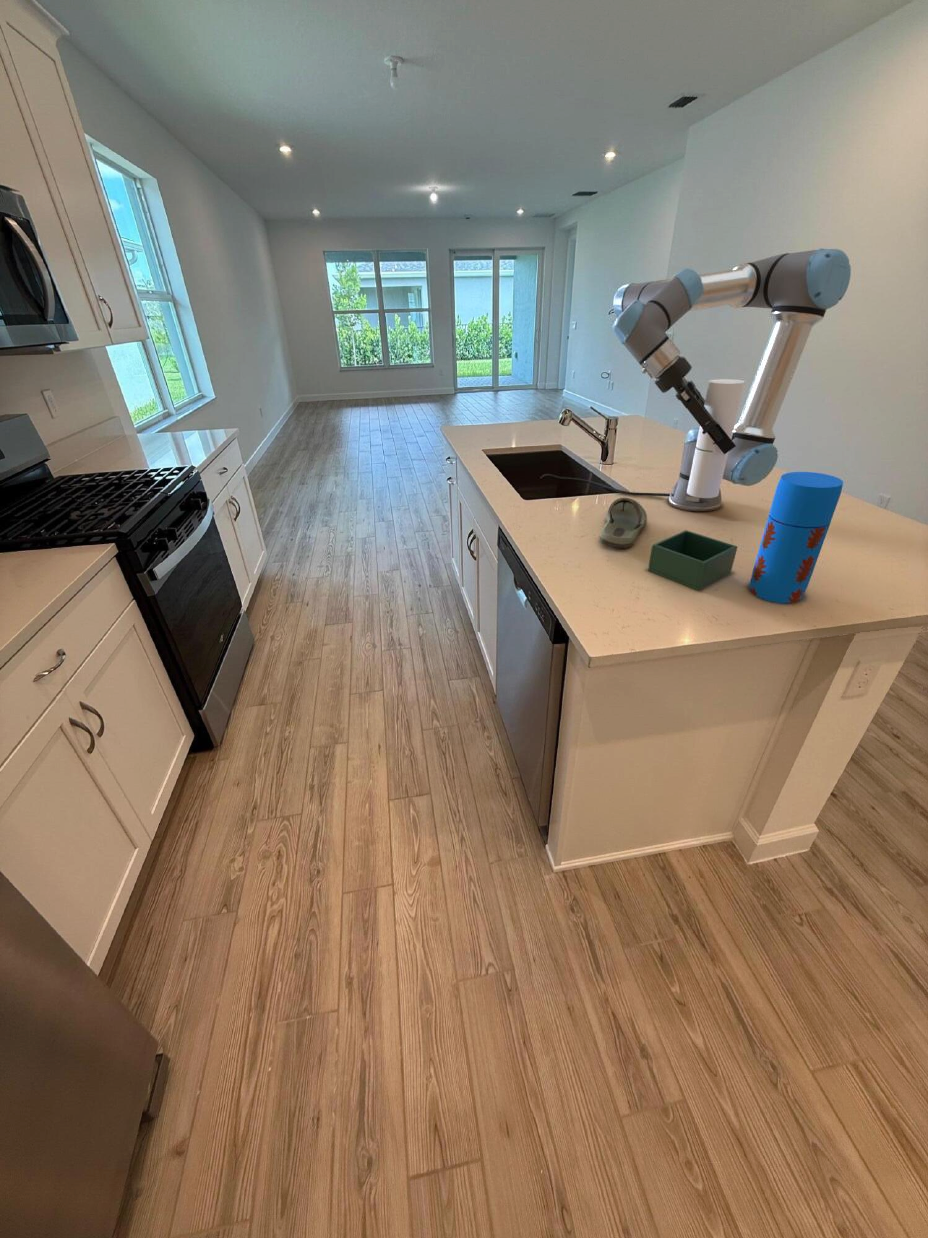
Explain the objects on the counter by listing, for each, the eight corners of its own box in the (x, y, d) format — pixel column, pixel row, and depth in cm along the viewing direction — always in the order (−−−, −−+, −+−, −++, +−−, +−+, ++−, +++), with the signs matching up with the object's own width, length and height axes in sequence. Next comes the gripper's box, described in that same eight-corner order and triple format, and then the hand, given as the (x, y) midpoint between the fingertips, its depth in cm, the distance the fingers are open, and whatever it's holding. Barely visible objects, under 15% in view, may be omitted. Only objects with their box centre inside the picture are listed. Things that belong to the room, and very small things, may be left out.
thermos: (738, 582, 116) (768, 473, 103) (783, 578, 116) (818, 469, 103) (766, 605, 107) (803, 489, 94) (815, 601, 107) (858, 485, 94)
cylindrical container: (721, 498, 120) (748, 383, 107) (689, 497, 121) (712, 383, 108) (715, 489, 126) (740, 378, 112) (684, 488, 127) (706, 379, 114)
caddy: (647, 570, 123) (652, 544, 119) (680, 554, 129) (685, 529, 126) (698, 590, 114) (704, 563, 110) (730, 572, 120) (737, 546, 116)
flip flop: (610, 511, 158) (613, 484, 153) (650, 515, 153) (654, 488, 149) (588, 547, 136) (591, 517, 131) (634, 553, 131) (638, 523, 127)
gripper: (656, 374, 123) (714, 446, 126) (648, 386, 108) (714, 468, 111) (683, 350, 119) (743, 425, 122) (680, 358, 103) (748, 444, 106)
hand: (729, 445), depth 116 cm, fingers closed on cylindrical container, 7 cm apart
